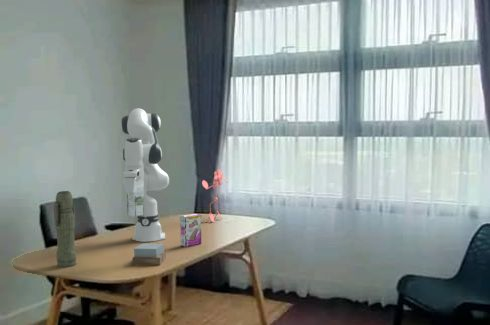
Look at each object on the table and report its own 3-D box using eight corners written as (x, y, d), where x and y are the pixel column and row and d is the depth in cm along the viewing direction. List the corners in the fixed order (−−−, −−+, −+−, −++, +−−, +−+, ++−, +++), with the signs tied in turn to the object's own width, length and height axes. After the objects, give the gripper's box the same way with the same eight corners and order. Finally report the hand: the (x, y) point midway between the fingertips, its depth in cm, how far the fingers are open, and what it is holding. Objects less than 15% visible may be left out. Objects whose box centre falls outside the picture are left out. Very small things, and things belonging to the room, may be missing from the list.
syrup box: (136, 214, 269) (135, 184, 268) (144, 215, 266) (143, 185, 265) (127, 216, 265) (126, 186, 264) (135, 217, 261) (134, 186, 260)
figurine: (199, 223, 359) (199, 170, 356) (219, 217, 381) (219, 167, 379) (219, 226, 352) (219, 171, 349) (238, 219, 374) (239, 168, 371)
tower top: (142, 251, 271) (142, 243, 271) (163, 251, 270) (163, 243, 269) (134, 256, 261) (134, 248, 260) (156, 257, 259) (156, 249, 258)
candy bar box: (186, 247, 293) (185, 217, 292) (180, 246, 297) (179, 215, 295) (202, 243, 301) (201, 214, 300) (196, 242, 304) (195, 213, 303)
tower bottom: (139, 259, 272) (139, 251, 271) (165, 259, 271) (165, 251, 271) (132, 266, 259) (132, 258, 258) (160, 266, 258) (159, 257, 258)
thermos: (82, 262, 266) (79, 190, 263) (67, 268, 254) (64, 193, 252) (66, 261, 268) (63, 189, 266) (51, 267, 257) (47, 193, 254)
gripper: (133, 170, 274) (134, 197, 275) (121, 173, 254) (122, 203, 255) (146, 169, 274) (147, 197, 275) (135, 173, 254) (136, 203, 255)
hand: (135, 200), depth 265 cm, fingers closed on syrup box, 7 cm apart
